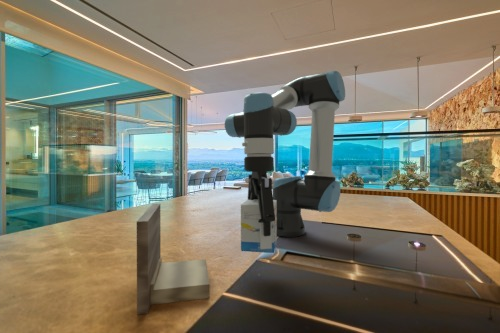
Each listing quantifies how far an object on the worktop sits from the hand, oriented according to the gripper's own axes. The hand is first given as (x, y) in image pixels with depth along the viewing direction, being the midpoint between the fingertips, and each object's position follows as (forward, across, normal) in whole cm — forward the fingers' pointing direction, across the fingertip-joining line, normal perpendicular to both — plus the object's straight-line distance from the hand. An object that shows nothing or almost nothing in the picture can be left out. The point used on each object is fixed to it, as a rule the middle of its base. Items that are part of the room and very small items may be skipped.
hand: (259, 240), depth 65 cm
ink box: (+2, 0, 0) cm, 2 cm away
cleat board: (+8, +2, -21) cm, 22 cm away
